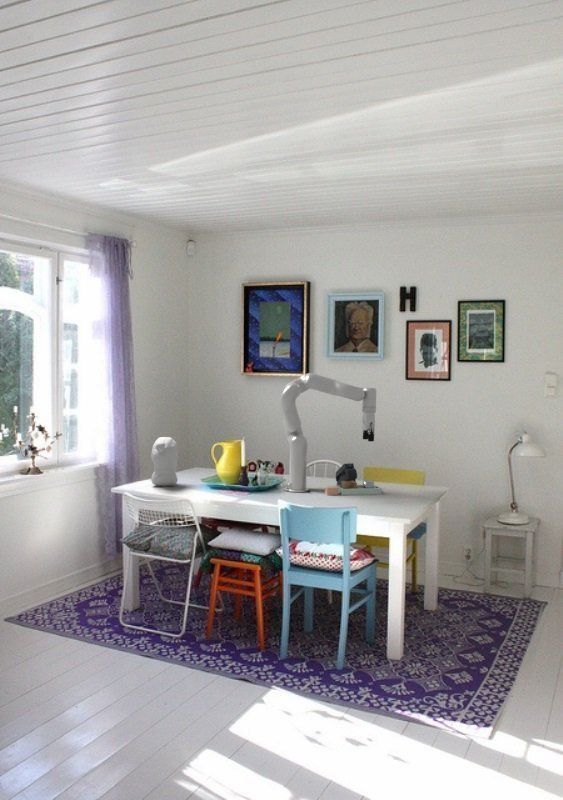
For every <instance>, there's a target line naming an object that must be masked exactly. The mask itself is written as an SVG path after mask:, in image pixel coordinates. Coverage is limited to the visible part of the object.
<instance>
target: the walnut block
mask: <svg viewBox="0 0 563 800" xmlns="http://www.w3.org/2000/svg"><path fill="white" fill-rule="evenodd" d="M357 485H358V482H357V481H356V482H355V481H341V488H343V489H357Z"/></svg>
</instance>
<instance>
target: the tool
mask: <svg viewBox="0 0 563 800" xmlns="http://www.w3.org/2000/svg"><path fill="white" fill-rule="evenodd" d="M334 475H335V481H336V485H341V481H355V482H356V483H357V481H356V480H357V479H358V472H357V469H356V468H355V466H354V463H352V462H351V463H343V464H342V465H341V466H340V467H339V469H337V470H336V471H335V474H334Z"/></svg>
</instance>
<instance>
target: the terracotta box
mask: <svg viewBox="0 0 563 800" xmlns="http://www.w3.org/2000/svg"><path fill="white" fill-rule="evenodd" d="M324 494H325V495H326V496H338V495H339V493H338V487H337V486H336V485H325V486H324Z"/></svg>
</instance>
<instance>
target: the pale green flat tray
mask: <svg viewBox="0 0 563 800" xmlns="http://www.w3.org/2000/svg"><path fill="white" fill-rule="evenodd" d="M335 486H337V487H338V494H340V495H341V496H361V495H363V496H366V495H374V496H375V495H382V487H380V486H378V485H377V484H374V488H363V484H357V489H343V488H341V485H337V484H336V485H335Z"/></svg>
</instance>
